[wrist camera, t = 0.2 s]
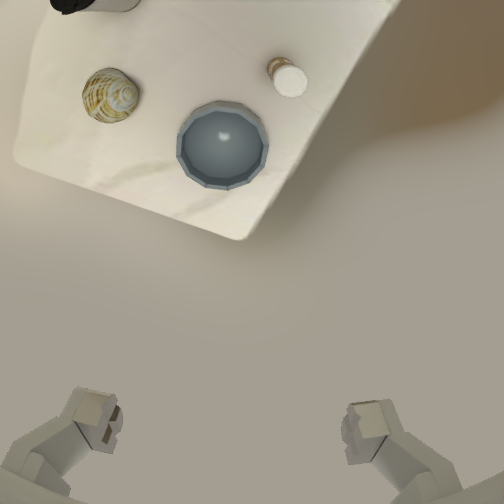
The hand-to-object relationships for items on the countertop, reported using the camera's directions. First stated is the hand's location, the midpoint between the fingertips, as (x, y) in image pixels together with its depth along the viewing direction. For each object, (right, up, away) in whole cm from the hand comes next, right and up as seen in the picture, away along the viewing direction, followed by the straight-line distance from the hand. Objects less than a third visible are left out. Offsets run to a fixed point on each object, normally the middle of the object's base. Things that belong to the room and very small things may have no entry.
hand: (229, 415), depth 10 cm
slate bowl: (-5, +25, +46) cm, 52 cm away
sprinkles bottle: (+5, +36, +37) cm, 52 cm away
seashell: (-23, +34, +38) cm, 56 cm away
